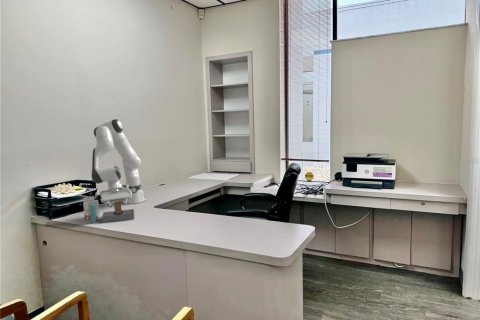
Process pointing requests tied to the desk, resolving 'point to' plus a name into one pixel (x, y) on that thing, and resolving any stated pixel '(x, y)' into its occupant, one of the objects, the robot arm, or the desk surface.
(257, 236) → the desk surface
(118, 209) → the walnut square bit
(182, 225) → the desk surface
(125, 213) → the metal bore block
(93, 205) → the teal flat bit
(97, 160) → the robot arm
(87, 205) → the ink cartridge box
